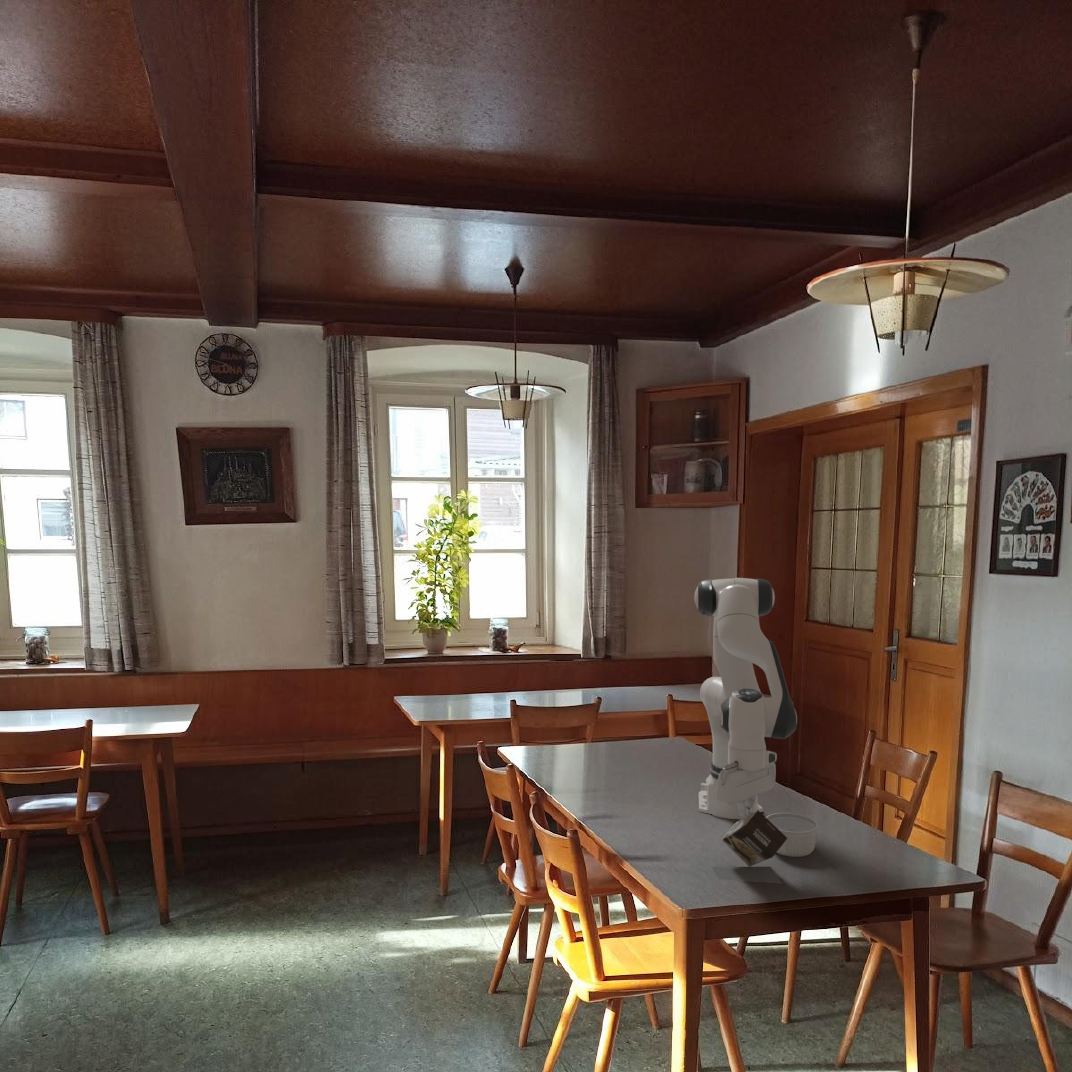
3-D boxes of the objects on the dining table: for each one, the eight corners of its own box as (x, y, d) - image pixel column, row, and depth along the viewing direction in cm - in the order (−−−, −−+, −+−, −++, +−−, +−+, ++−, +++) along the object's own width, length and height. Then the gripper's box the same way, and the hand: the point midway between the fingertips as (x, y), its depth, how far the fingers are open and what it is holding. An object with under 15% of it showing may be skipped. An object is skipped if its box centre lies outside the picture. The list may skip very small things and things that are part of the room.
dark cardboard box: (720, 840, 211) (741, 828, 196) (736, 821, 213) (757, 808, 199) (749, 868, 208) (772, 858, 194) (764, 848, 211) (788, 837, 197)
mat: (713, 868, 207) (713, 866, 207) (770, 868, 207) (770, 866, 207) (723, 888, 197) (723, 886, 197) (783, 887, 197) (783, 885, 197)
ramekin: (753, 848, 219) (754, 821, 219) (780, 833, 228) (780, 808, 228) (801, 864, 210) (802, 836, 209) (827, 848, 219) (827, 822, 218)
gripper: (733, 769, 197) (732, 829, 197) (780, 752, 211) (779, 808, 211) (710, 763, 201) (709, 821, 202) (758, 747, 215) (757, 801, 216)
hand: (745, 814), depth 207 cm, fingers closed
